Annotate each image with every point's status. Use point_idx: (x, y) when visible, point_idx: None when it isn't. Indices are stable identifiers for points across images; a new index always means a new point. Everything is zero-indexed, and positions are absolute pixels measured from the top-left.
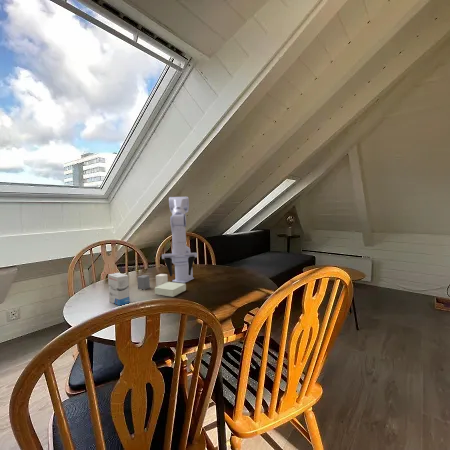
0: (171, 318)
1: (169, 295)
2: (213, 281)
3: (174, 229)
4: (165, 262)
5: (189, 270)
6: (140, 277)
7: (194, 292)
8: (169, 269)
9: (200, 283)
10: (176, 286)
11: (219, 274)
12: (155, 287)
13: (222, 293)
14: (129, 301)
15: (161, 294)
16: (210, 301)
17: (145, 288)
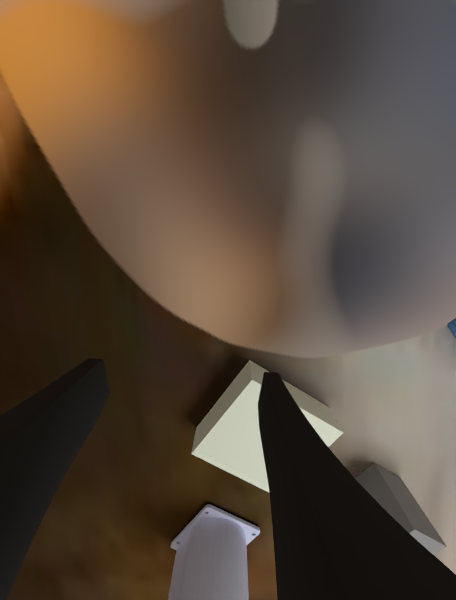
0: (245, 44)
1: (266, 371)
2: (89, 500)
3: None
4: (426, 551)
5: (57, 387)
6: (429, 536)
7: (156, 394)
8: (299, 425)
9: (141, 489)
10: (235, 426)
11: (75, 564)
12: (339, 433)
13: (27, 357)
14: (453, 325)
15: (302, 392)
16: (68, 264)
17: (371, 471)
